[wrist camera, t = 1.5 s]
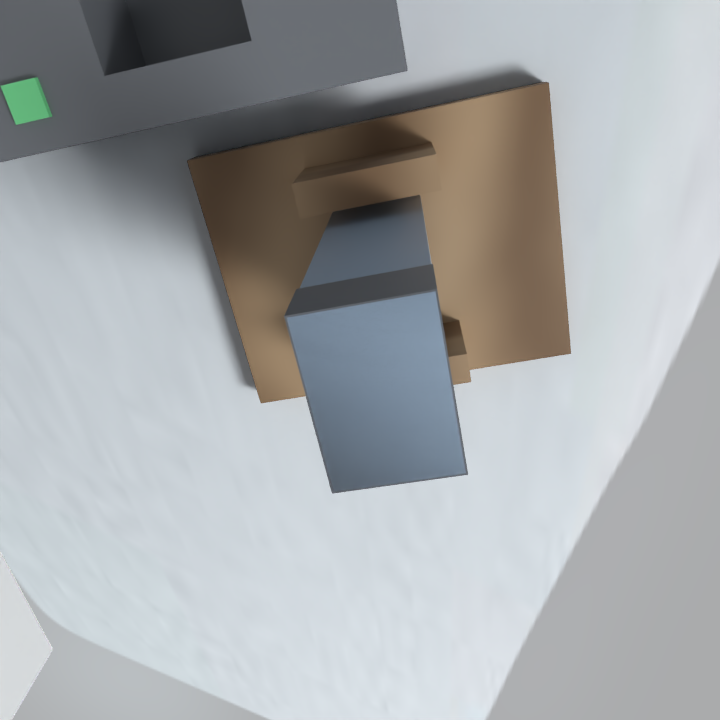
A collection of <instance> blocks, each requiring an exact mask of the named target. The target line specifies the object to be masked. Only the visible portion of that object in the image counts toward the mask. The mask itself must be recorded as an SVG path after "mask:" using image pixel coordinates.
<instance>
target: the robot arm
mask: <svg viewBox="0 0 720 720" xmlns="http://www.w3.org/2000/svg"><path fill="white" fill-rule="evenodd" d="M52 650H53V648H52V646H51V645H50V643H49V641H48V639H47V637H46V635H45V633H44V631H43V630H42V628H41V626H40V624H39V622H38V620H37V618H36V617H35V615H34V613H33V611H32V609H31V607H30V605H29V604H28V602H27V600H26V598H25V596H24V594H23V592H22V591H21V589H20V587H19V585H18V583H17V581H16V579H15V578H14V576H13V574H12V572H11V570H10V568H9V566H8V565H7V563H6V561H5V559H4V557H3V555H2V554H1V552H0V720H12V719H13V717H14V715H15V714H16V712H17V710H18V708H19V707H20V705H21V703H22V702H23V700H24V698H25V696H26V695H27V693H28V691H29V690H30V688H31V686H32V685H33V683H34V681H35V679H36V678H37V676H38V674H39V672H40V671H41V669H42V667H43V665H44V664H45V662H46V660H47V659H48V657H49V655H50V654H51V652H52Z"/></svg>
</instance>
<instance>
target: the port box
mask: <svg viewBox="0 0 720 720" xmlns="http://www.w3.org/2000/svg"><path fill="white" fill-rule="evenodd" d="M404 71H407V64H406V58H405V52H404V46H403V40H402V34H401V27H400V21H399V15H398V9H397V3H396V0H0V162H3V161H8V160H12V159H17V158H21V157H26V156H30V155H35V154H39V153H44V152H48V151H52V150H57V149H61V148H66V147H70V146H75V145H79V144H84V143H88V142H92V141H97V140H101V139H106V138H110V137H115V136H119V135H124V134H128V133H133V132H137V131H141V130H146V129H150V128H155V127H159V126H164V125H168V124H173V123H177V122H181V121H186V120H190V119H195V118H199V117H204V116H208V115H213V114H217V113H222V112H226V111H230V110H235V109H239V108H244V107H248V106H253V105H257V104H262V103H266V102H270V101H275V100H279V99H284V98H288V97H293V96H297V95H302V94H306V93H311V92H315V91H319V90H324V89H328V88H333V87H337V86H342V85H346V84H351V83H355V82H359V81H364V80H368V79H373V78H377V77H382V76H386V75H391V74H395V73H400V72H404Z"/></svg>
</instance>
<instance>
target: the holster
mask: <svg viewBox="0 0 720 720" xmlns="http://www.w3.org/2000/svg"><path fill="white" fill-rule="evenodd" d="M187 162H188V166H189V169H190V172H191V176H192V179H193V182H194V185H195V189H196V192H197V195H198V198H199V202H200V205H201V208H202V212H203V215H204V218H205V221H206V225H207V228H208V231H209V235H210V238H211V241H212V244H213V248H214V251H215V254H216V258H217V261H218V264H219V267H220V271H221V274H222V277H223V281H224V284H225V287H226V290H227V294H228V297H229V300H230V304H231V307H232V310H233V313H234V317H235V320H236V323H237V326H238V330H239V333H240V336H241V340H242V343H243V346H244V349H245V353H246V356H247V359H248V363H249V366H250V369H251V372H252V376H253V379H254V382H255V386H256V389H257V392H258V395H259V399H260V402H261V403H266V402H272V401H278V400H284V399H291V398H297V397H303V396H306V395H305V392H304V388H303V384H302V381H301V377H300V373H299V369H298V366H297V362H296V358H295V355H294V351H293V347H292V344H291V340H290V336H289V333H288V329H287V325H286V322H285V318H284V315H285V313H286V311H287V309H288V306H289V304H290V302H291V300H292V297H293V295H294V293H295V291H296V289H298V288H300V286H301V284H302V281H303V279H304V277H305V275H306V272H307V270H308V268H309V265H310V263H311V261H312V258H313V256H314V254H315V252H316V249H317V247H318V245H319V242H320V240H321V238H322V236H323V233H324V231H325V229H326V226H327V224H328V222H329V219H330V217H331V215H332V213H333V212H335V211H340V210H345V209H350V208H355V207H360V206H365V205H370V204H375V203H380V202H385V201H390V200H395V199H400V198H405V197H410V196H415V195H420V196H421V202H422V208H423V214H424V220H425V226H426V232H427V238H428V244H429V250H430V256H431V262H432V264H433V267H434V273H435V279H436V285H437V291H438V297H439V303H440V309H441V315H442V321H443V327H444V333H445V339H446V345H447V351H448V357H449V363H450V369H451V375H452V381H453V385H455V384H461V383H467V382H471V377H470V371H469V370H471V369H478V368H484V367H490V366H496V365H503V364H509V363H515V362H521V361H528V360H534V359H540V358H546V357H553V356H559V355H565V354H571V348H570V336H569V324H568V312H567V299H566V287H565V275H564V263H563V250H562V238H561V226H560V214H559V201H558V189H557V177H556V165H555V152H554V140H553V128H552V116H551V103H550V91H549V83H547V82H540V83H536V84H531V85H527V86H522V87H517V88H513V89H508V90H503V91H499V92H494V93H490V94H485V95H480V96H476V97H471V98H466V99H462V100H457V101H453V102H448V103H443V104H439V105H434V106H429V107H425V108H420V109H416V110H411V111H406V112H402V113H397V114H392V115H388V116H383V117H379V118H374V119H369V120H365V121H360V122H355V123H351V124H346V125H342V126H337V127H332V128H328V129H323V130H318V131H314V132H309V133H305V134H300V135H295V136H291V137H286V138H281V139H277V140H272V141H268V142H263V143H258V144H254V145H249V146H244V147H240V148H235V149H231V150H226V151H221V152H217V153H212V154H207V155H203V156H198V157H194V158H192V159H190V160H188V161H187Z"/></svg>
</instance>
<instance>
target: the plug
mask: <svg viewBox="0 0 720 720" xmlns="http://www.w3.org/2000/svg"><path fill="white" fill-rule="evenodd" d="M284 318H285V322H286V325H287V329H288V333H289V336H290V340H291V344H292V347H293V351H294V355H295V358H296V362H297V366H298V369H299V373H300V377H301V381H302V384H303V388H304V392H305V395H306V399H307V403H308V406H309V410H310V414H311V417H312V421H313V425H314V428H315V432H316V436H317V439H318V443H319V447H320V451H321V454H322V458H323V462H324V465H325V469H326V473H327V476H328V480H329V484H330V487H331V491H332V493H339V492H346V491H354V490H361V489H368V488H375V487H382V486H390V485H397V484H404V483H411V482H418V481H426V480H433V479H440V478H447V477H454V476H462V475H468V471H467V465H466V459H465V453H464V447H463V441H462V435H461V429H460V423H459V417H458V411H457V405H456V399H455V393H454V387H453V381H452V375H451V369H450V363H449V357H448V351H447V345H446V339H445V333H444V327H443V321H442V315H441V309H440V303H439V297H438V291H437V285H436V279H435V273H434V267H433V264H432V262H431V256H430V250H429V244H428V238H427V232H426V226H425V220H424V214H423V208H422V202H421V196H420V195H415V196H410V197H405V198H400V199H395V200H390V201H385V202H380V203H375V204H370V205H365V206H360V207H355V208H350V209H345V210H340V211H335V212H333V213H332V215H331V217H330V219H329V222H328V224H327V226H326V229H325V231H324V233H323V236H322V238H321V240H320V242H319V245H318V247H317V249H316V252H315V254H314V256H313V258H312V261H311V263H310V265H309V268H308V270H307V272H306V275H305V277H304V279H303V281H302V284H301V286H300V288H298V289H296V291H295V293H294V295H293V297H292V300H291V302H290V304H289V306H288V309H287V311H286V313H285V315H284Z"/></svg>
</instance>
